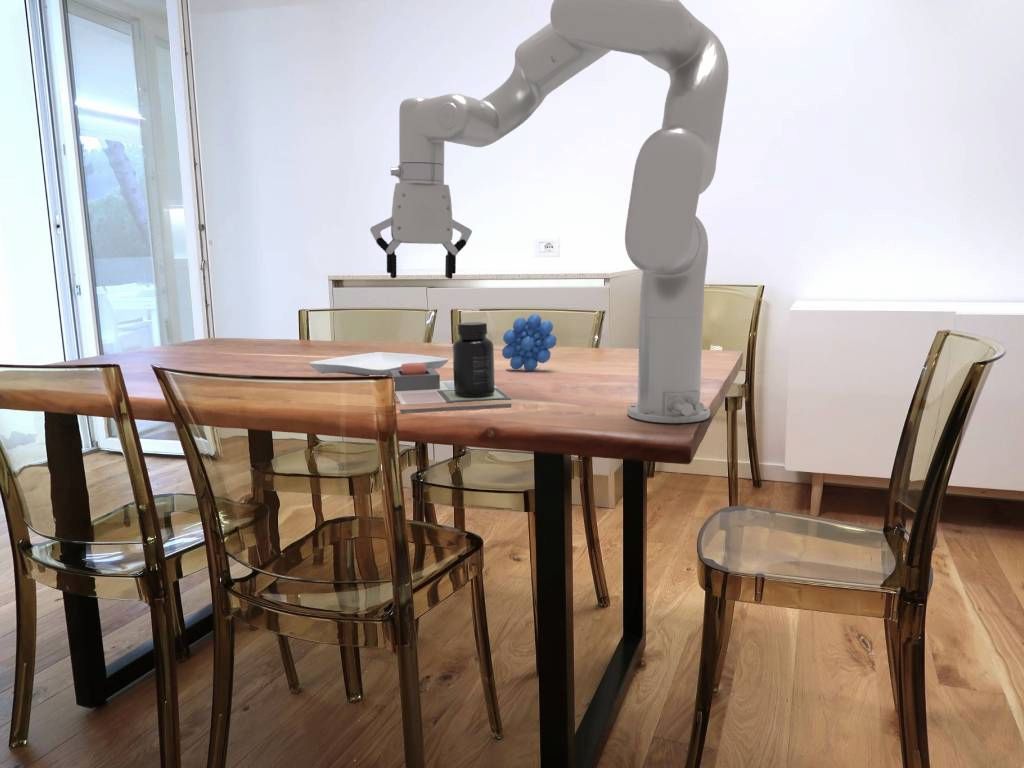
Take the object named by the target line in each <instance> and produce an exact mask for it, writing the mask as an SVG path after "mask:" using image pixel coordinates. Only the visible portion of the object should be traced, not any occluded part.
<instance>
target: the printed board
mask: <svg viewBox="0 0 1024 768" xmlns="http://www.w3.org/2000/svg"><path fill="white" fill-rule="evenodd" d="M395 393H396V394H395ZM394 394H395V395H396V397H397V399H398V401H399V402H400V404H401V405H417V404H418V405H419V404H421V405H422V404H437V403H438V404H439V403H440V404H441V403H447V404H450V403H461V402H478V401H495V400H496V401H498V400H499V401H500V400H501V401H502V400H507V401H508V400H512V398H511V396H509V395H508V394H507V393H505V392H503V390H501V389H500V388H498V387H497V385H495V391H494V393H493V394H492V395H490V396H486V397H475V398H467V397H459V396H457V395H456V394H455V392H454V380H440V389H429V390H409V391H395V392H394ZM505 408H509V409H510V408H512V403H498V404H496V403H495V404H482V405H481V404H480V405H464V406H463V405H460V406H445V407H444V406H443V407H442V406H441V407H430V408H429V407H428V408H427V407H426V408H423V407H422V408H409V409H408V408H407V409H404V408H403V409H399V411H400V412H401V414H414V413H415V414H416V413H419V414H420V413H435V412H451V411H453V412H454V411H456V412H457V411H469V410H470V411H471V410H474V411H475V410H489V409H490V410H492V409H505Z"/></svg>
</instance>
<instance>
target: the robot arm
mask: <svg viewBox="0 0 1024 768" xmlns="http://www.w3.org/2000/svg"><path fill="white" fill-rule="evenodd" d="M549 17H550V22H549V23H548V24H546V25H545V26H543V27H541V28H540V30H538V31H537V32H535V33H533V34H532V35H531V36H529V37H528V38H526V39H525V40H524V41H522V42H521V43H520V44H518V45H517V47H516V49H515V51H514V67H513V69H512V72H511V74H510V75H509V77H508V78H507V79H506V80H505V81H504V82H503V83H502V84H501V85H500V86H498V87H497V88H496V89H495V90H493V91H492V92H490V93H489V94H488V95H486V96H485V97H483V98H481V99H477V98H474V97H470V96H466V95H464V94H460V93H448V94H447V93H446V94H443V95H439V96H436V97H435V96H434V97H431V98H428V97H411V98H410V97H409V98H406V99H404V100H402V101H401V102H400V105H399V109H398V110H399V114H398V117H399V118H398V119H399V121H398V122H399V123H398V124H399V126H398V128H399V129H398V131H399V135H398V136H399V137H398V139H399V141H398V142H399V143H398V144H399V145H398V146H399V148H398V149H399V152H398V153H399V154H398V155H399V156H398V158H399V164H398V165H397V166H395V167H390V176H391V177H393V176H395V177H397V179H398V182H396V183H395V185H394V189H393V197H392V206H391V217H388V218H387V219H386V218H385V220H382V221H381V222H379V223H377V224H375V225H373V226H371V227H370V229H369V231H370V233H371V235H372V237H373V238H374V240H375V243H376V244H377V245H378V246H379V247H380V248H381V249H382V250H383V251H384V253H386V273H387V274H389V276H390V279H396V278H397V255H396V254H395V253H396V252H395V251H396V250H397V248H399V246H401V244H419V245H422V244H423V245H424V244H428V245H431V244H432V245H442V246H443V247H444V249H445V250H446V251H447V253H446V255H445V265H444V267H445V271H444V272H445V275H444V276H445V278H447V279H453V274H456V270H457V269H456V267H457V266H456V265H457V264H456V263H457V259H456V258H457V257H456V256H457V255H458V254H459V252H461V250H462V249H463V248H464V247H466V245H467V243H468V242H469V239H470V237H471V235H472V233H473V230H472V229H471V228H469V227H467V226H466V225H463V224H462V223H461V222H459V221H456V220H455V219H453V210H452V209H453V208H452V207H453V206H452V198H451V196H452V195H451V190H450V186H449V184H445V142H448V143H453V144H458V145H464V146H467V147H468V146H469V147H471V148H472V147H474V148H484V147H486V146H487V147H488V146H490V145H492V144H494V143H496V142H497V141H500V140H501V139H502V138H504V137H505V136H507V135H508V134H510V133H512V132H513V131H514V130H516V129H517V128H519V127H520V126H521V125H522V124H524V123H525V122H526V121H527V120H528V119H529V118H530V117H531V116H533V114H534V112H536V110H537V109H538V108H539V107H540V106H541V105H542V103H543V102H544V101H545V99H546V98H547V96H548V95H549V94H551V93H552V92H553V91H555V90H556V89H558V88H559V87H560V86H562V85H563V84H565V83H566V82H567V81H569V80H570V79H572V78H573V77H574V76H576V75H578V74H579V73H581V72H582V71H583V70H585V69H587V68H588V67H590V66H591V65H593V64H595V62H597V61H598V60H599V59H600V60H601V59H602V58H603V57H604V56H605V55H607V54H608V53H610V52H611V51H614V52H618V53H626V54H631V55H634V56H639V57H642V58H643V59H644V60H645V61H647V62H649V63H650V64H652V65H653V66H655V67H657V68H659V69H661V70H663V71H665V72H666V73H667V74H668V76H669V87H668V89H667V90H668V91H667V94H666V97H665V101H664V109H663V118H662V124H661V128H660V129H657V130H656V131H654V132H653V133H652V134H650V135H649V136H648V137H647V139H646V140H645V141H644V142H643V144H642V146H641V147H640V148H639V149H640V150H639V152H638V154H637V157H636V161H635V164H634V168H633V169H634V170H633V175H632V177H633V178H632V183H631V189H630V196H629V204H628V209H627V218H626V222H625V223H626V224H625V230H624V231H625V233H624V243H625V244H624V245H625V250H626V253H627V257H628V258H629V259H630V262H632V264H633V265H634V266H635V267H636V268H638V269H639V270H640V271H642V276H641V284H640V291H639V292H640V294H639V298H640V299H639V317H638V320H639V321H638V322H639V323H638V364H637V365H638V367H637V369H638V373H637V374H638V375H637V402H635V403H632V404H630V405H628V406H627V415H628V416H630V417H631V418H633V419H636V420H639V421H644V422H649V423H659V424H660V423H661V424H662V423H663V424H691V423H697V422H702V421H706V420H707V419H709V418H710V416H711V409H710V408H709V407H707V405H704V403H702V402H701V387H702V386H701V383H702V382H701V381H702V379H701V378H702V354H703V353H702V352H703V351H702V350H703V320H704V318H703V317H704V299H705V298H704V297H705V282H706V281H705V280H706V273H707V265H708V258H709V257H708V256H709V255H708V254H709V241H708V234H707V230H706V227H705V225H704V224H703V222H702V221H701V219H700V218H699V217H698V216H696V213H697V209H698V203H699V198H700V196H701V194H703V193H705V191H706V190H707V189H709V186H710V185H711V184H712V182H713V180H714V177H715V174H716V170H717V160H718V153H719V152H718V151H719V144H720V137H721V133H722V128H723V127H722V125H723V118H724V111H725V105H726V104H725V103H726V98H727V92H728V84H729V62H728V55H727V53H726V50H725V47H724V45H723V43H722V42H721V39H720V38H719V36H717V35H716V34H715V32H714V31H713V30H711V29H710V28H709V27H708V26H707V25H705V24H704V23H703V22H702V21H701V20H699V19H698V18H696V17H695V16H694V15H693V13H691V12H690V10H688V9H687V8H686V7H685V5H684V4H683V3H682V2H681V0H553V1H552V4H551V8H550V16H549ZM388 228H390V229H391V230H390V232H391V233H390V234H391V239H392V240H390V242H389V243H388V242H387V241H386V240H385V239H384V238H383V236H382V234H381V232H382V231H383V230H386V229H388ZM453 230H455V231H457V232H459V233H460V237H459V240H457V241H456V243H453V242H452V240H453V236H454V235H453V234H454V231H453Z"/></svg>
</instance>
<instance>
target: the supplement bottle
mask: <svg viewBox="0 0 1024 768" xmlns="http://www.w3.org/2000/svg"><path fill="white" fill-rule="evenodd" d="M487 327H488V325H487V322H478V321H473V322H470V321H469V322H461V323H458V324H457V336H459V338H458V339H456V340H455V341H454V342H453V345H452V365H453V366H452V367H453V368H452V369H453V381H454V392H455V394H456V395H457V396H459V397H467V398H475V397H486V396H490V395H492V394H493V393H494V391H495V386H496V384H495V357H494V356H495V353H494V344H493V342H492V340H491V339H489V338H488V337H487V335H488V328H487Z"/></svg>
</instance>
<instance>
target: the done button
mask: <svg viewBox="0 0 1024 768" xmlns="http://www.w3.org/2000/svg"><path fill="white" fill-rule="evenodd" d="M401 371H402V375H420V374H426V364H424V363H406V364H402V365H401Z"/></svg>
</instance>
